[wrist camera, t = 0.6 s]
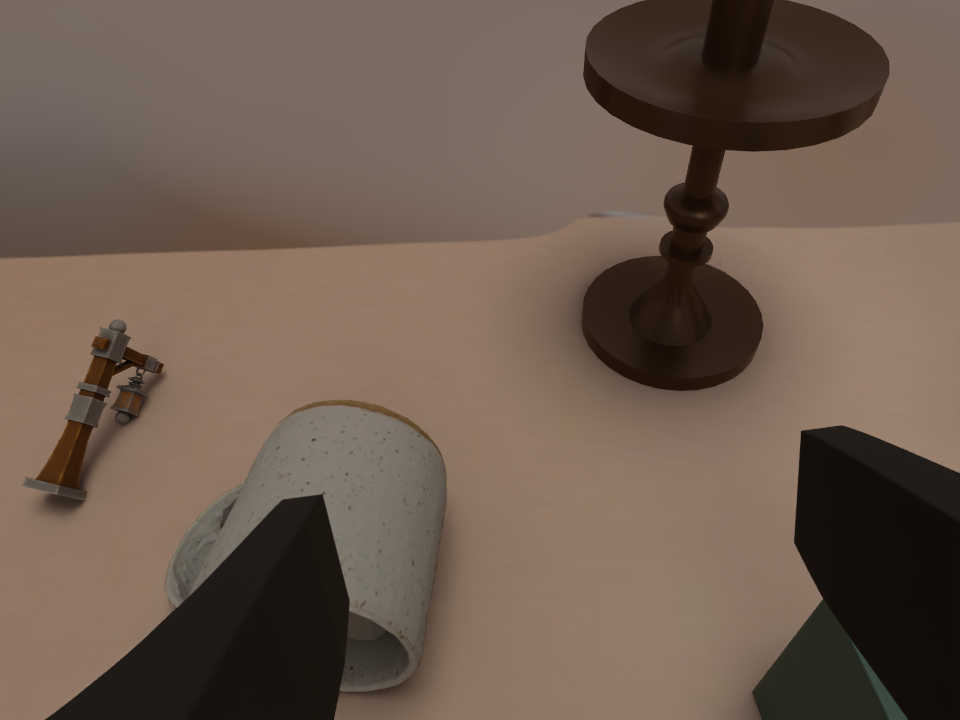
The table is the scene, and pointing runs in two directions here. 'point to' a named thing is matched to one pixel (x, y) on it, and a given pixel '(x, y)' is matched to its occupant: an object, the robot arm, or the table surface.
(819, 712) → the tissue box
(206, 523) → the ceramic mug
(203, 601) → the robot arm
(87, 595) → the table surface
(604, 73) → the candlestick
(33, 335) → the table surface
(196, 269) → the table surface
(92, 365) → the wooden post with brackets
